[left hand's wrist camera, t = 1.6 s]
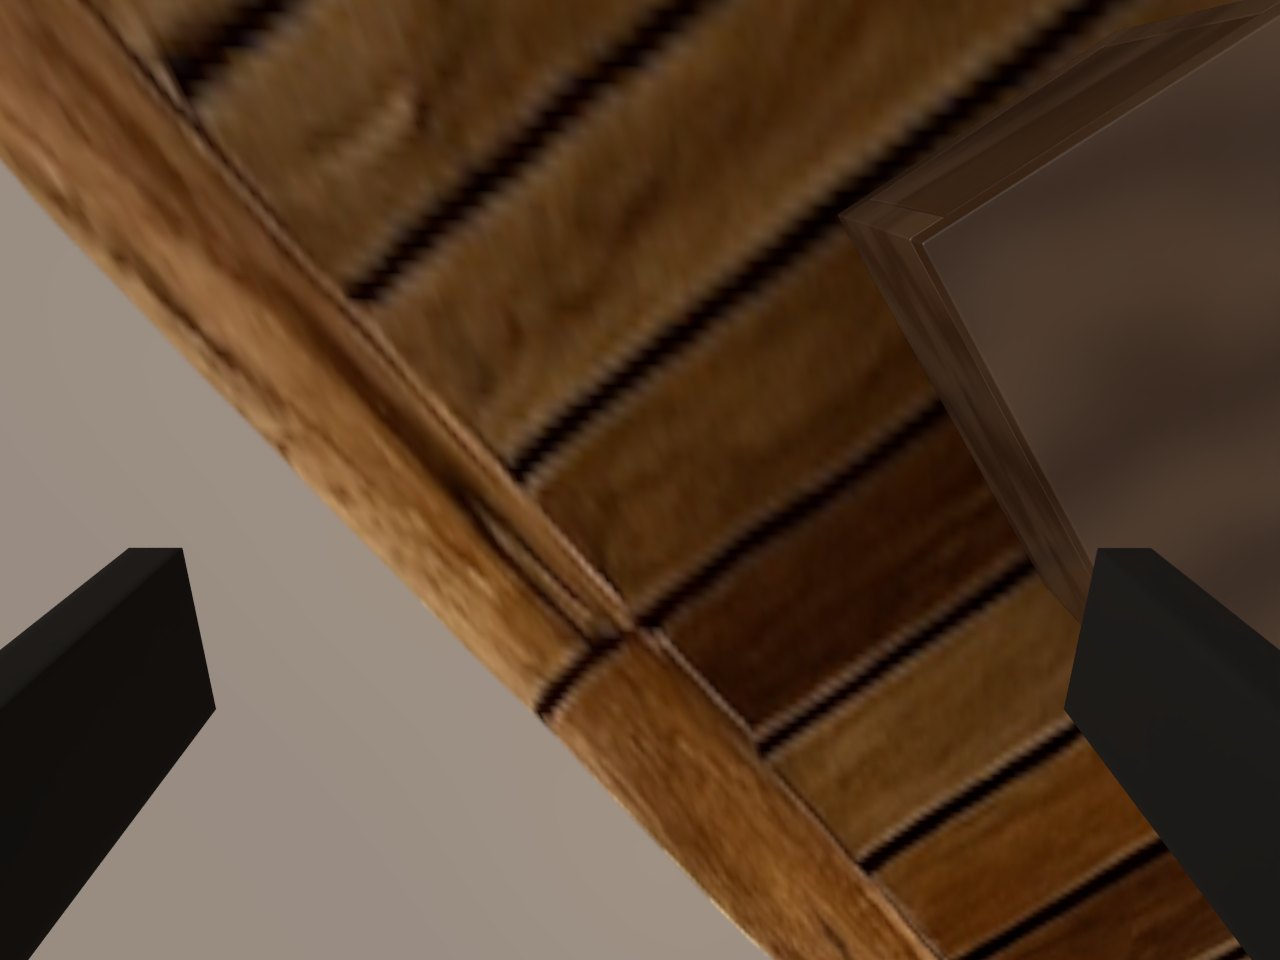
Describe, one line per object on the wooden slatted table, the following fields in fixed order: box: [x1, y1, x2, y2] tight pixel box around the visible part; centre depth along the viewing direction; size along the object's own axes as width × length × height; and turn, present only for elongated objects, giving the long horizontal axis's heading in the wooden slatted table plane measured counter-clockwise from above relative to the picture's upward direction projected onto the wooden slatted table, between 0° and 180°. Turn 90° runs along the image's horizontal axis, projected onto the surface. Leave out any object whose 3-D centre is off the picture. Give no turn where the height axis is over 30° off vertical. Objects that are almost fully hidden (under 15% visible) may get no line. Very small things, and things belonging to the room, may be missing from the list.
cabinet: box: [838, 0, 1280, 650], centre depth 28 cm, size 18×11×10 cm, turn 34°
